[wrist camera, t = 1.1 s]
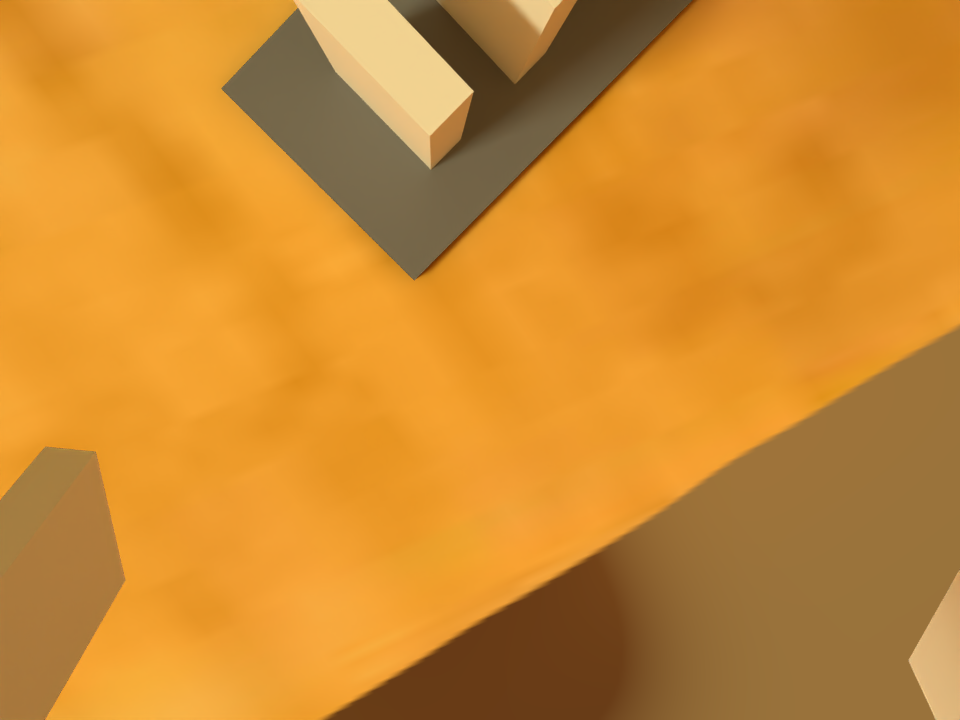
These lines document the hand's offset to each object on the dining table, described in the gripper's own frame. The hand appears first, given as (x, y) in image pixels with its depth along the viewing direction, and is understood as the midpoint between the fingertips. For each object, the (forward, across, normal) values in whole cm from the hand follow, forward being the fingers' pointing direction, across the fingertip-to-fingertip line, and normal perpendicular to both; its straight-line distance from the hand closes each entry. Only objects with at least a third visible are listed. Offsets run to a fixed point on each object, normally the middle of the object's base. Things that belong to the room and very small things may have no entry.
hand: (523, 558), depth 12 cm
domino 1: (+21, -5, +1) cm, 22 cm away
